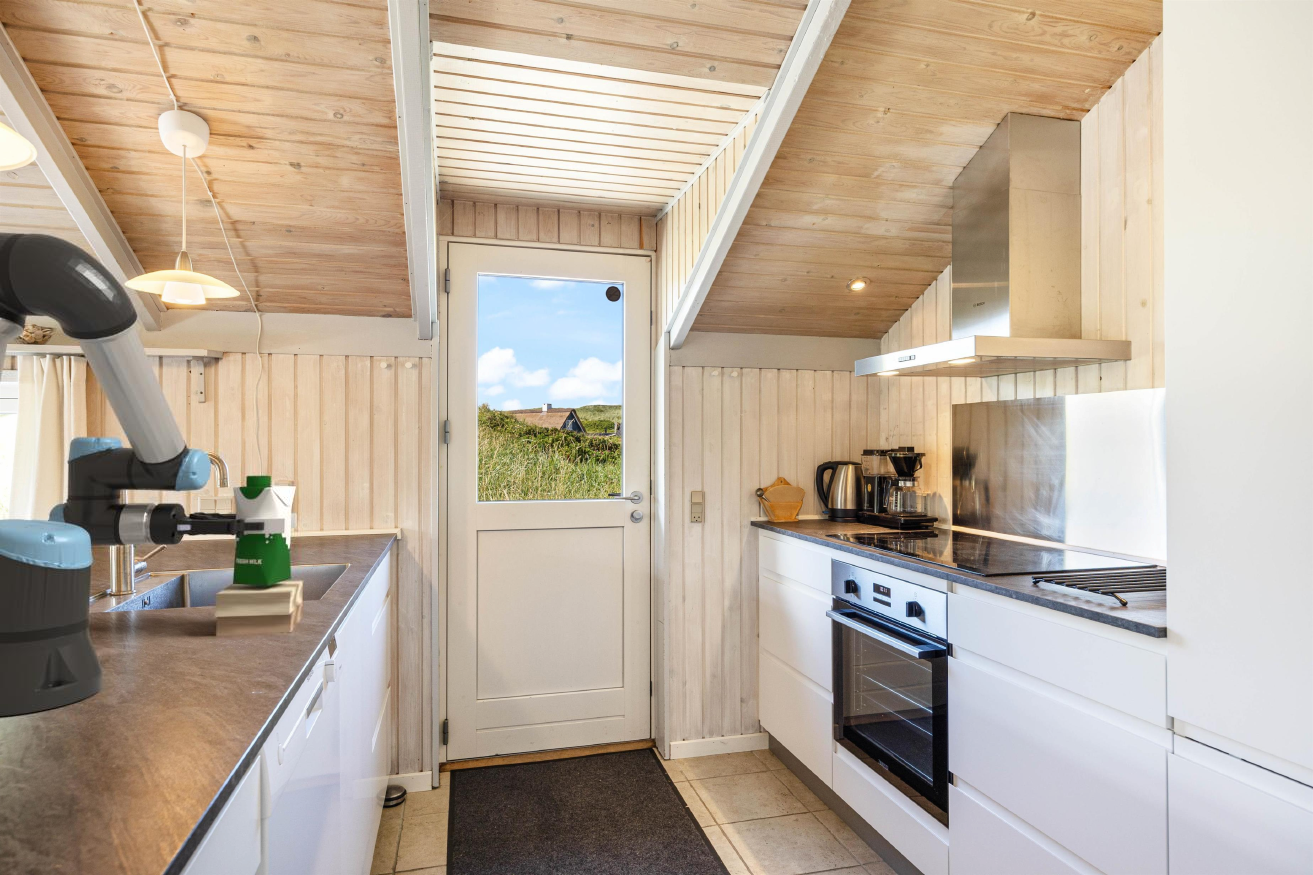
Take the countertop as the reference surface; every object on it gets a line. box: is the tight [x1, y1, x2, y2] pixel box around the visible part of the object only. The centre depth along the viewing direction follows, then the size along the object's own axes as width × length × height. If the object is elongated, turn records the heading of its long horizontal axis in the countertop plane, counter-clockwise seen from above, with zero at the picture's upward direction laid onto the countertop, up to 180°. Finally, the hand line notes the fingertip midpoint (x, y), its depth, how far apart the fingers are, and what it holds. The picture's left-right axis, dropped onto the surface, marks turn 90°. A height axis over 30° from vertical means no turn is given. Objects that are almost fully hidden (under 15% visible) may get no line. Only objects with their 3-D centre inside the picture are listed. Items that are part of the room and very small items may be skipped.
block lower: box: [215, 599, 304, 637], centre depth 137 cm, size 12×12×4 cm
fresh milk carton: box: [232, 475, 297, 585], centre depth 137 cm, size 9×9×20 cm
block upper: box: [214, 580, 304, 618], centre depth 137 cm, size 12×12×4 cm
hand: (290, 522), depth 139 cm, fingers closed on fresh milk carton, 9 cm apart
